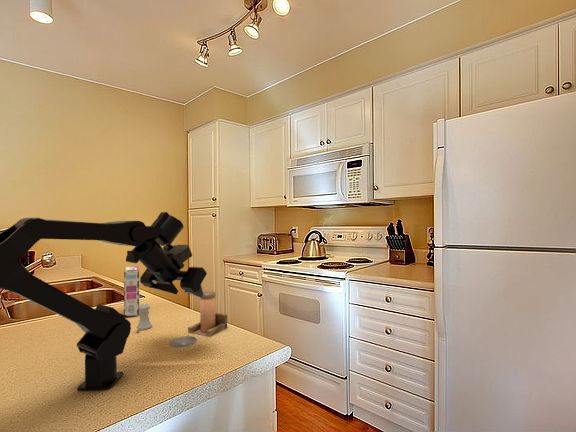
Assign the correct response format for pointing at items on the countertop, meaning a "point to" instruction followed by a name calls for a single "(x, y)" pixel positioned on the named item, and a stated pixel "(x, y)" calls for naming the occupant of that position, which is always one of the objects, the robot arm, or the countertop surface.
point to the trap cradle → (220, 326)
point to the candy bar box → (131, 291)
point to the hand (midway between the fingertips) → (189, 294)
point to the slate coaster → (182, 341)
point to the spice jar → (207, 311)
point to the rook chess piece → (144, 318)
